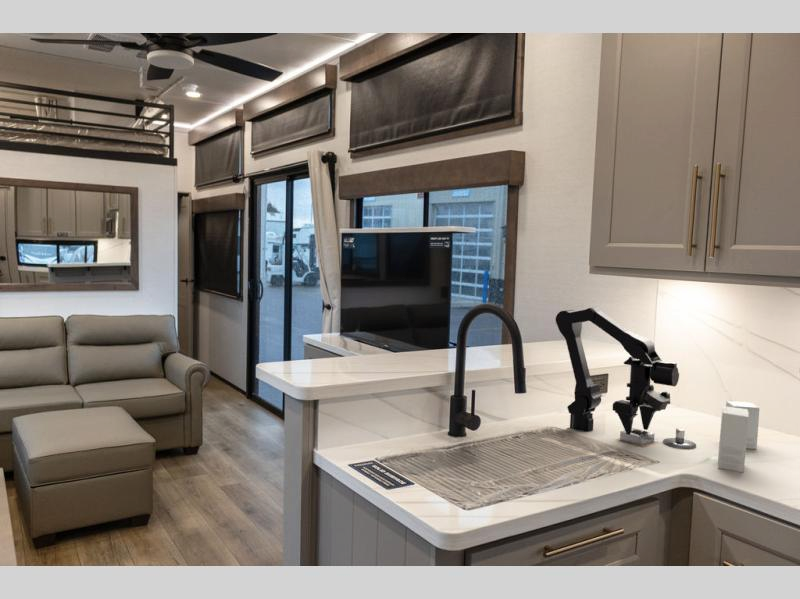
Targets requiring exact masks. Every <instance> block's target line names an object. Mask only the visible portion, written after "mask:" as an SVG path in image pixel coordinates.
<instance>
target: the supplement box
mask: <svg viewBox="0 0 800 599" xmlns="http://www.w3.org/2000/svg"><path fill="white" fill-rule="evenodd" d="M725 403H726V405H725V406H726V407H733V408H742V409H748V412H749V424H748V435H747V445H746V449H749V450H751V449H752V450H756V449H758V448H757V447H758V436H759V435H758V434H759V421H760V420H759V419H760V417H759V416H760V407H759V406H757V405H755V404H754V403H752V402H749V401H729V400H727V401H726V402H725Z"/></svg>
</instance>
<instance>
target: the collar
mask: <svg viewBox="0 0 800 599" xmlns="http://www.w3.org/2000/svg"><path fill="white" fill-rule="evenodd" d="M634 429H637V430H641V431H642V435H638V434H634V433H633V430H634ZM619 438H620V440H622V441H625V442H629V443H632V444H636V445H639V446H643V445H646V444H649V443H652V442H654V441H655V433H653V432H650V431H648V430H644V429H643V430H642V429H639V428H635V427H632V430H631V434H630V435H628V434H626V431H625V429H623V430H621V431H620V435H619ZM625 442H624V443H625ZM632 444H631V445H632Z"/></svg>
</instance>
